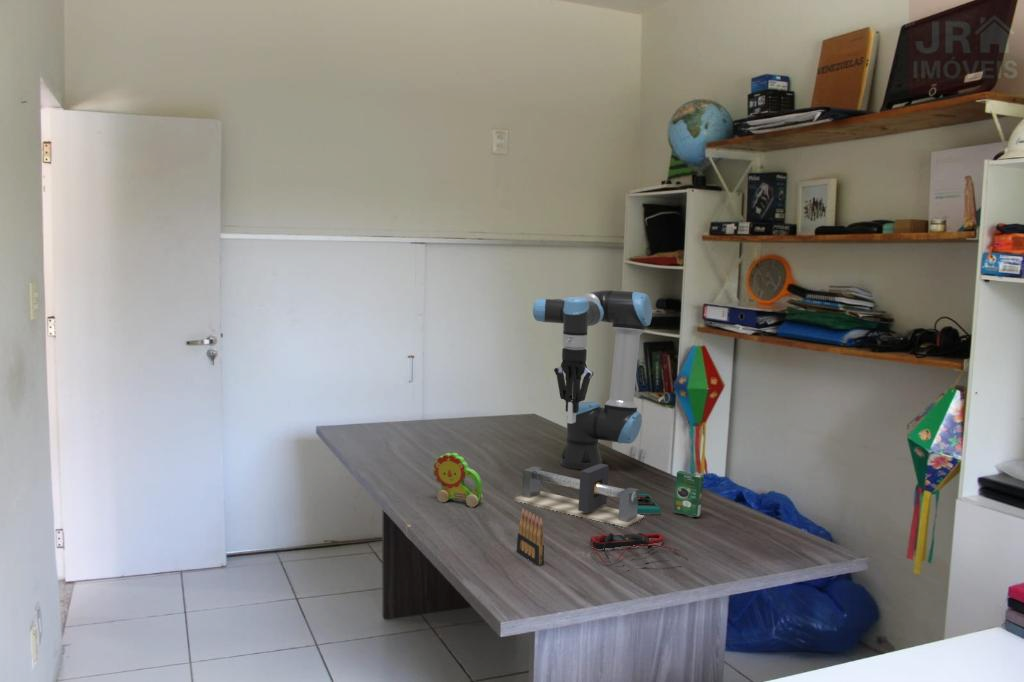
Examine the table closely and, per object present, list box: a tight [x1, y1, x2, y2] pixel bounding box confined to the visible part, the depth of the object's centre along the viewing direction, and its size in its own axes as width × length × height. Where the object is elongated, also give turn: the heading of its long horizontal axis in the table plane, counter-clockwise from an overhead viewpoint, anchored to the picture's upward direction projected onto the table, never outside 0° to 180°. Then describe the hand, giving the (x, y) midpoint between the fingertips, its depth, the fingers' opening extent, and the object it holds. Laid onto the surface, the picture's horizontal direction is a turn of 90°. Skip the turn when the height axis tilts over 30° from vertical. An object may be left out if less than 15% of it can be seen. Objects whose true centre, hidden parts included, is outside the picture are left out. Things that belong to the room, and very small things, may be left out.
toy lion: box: [432, 452, 484, 508], centre depth 260 cm, size 16×5×15 cm, turn 68°
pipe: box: [521, 466, 640, 522], centre depth 258 cm, size 37×6×9 cm, turn 55°
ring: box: [578, 463, 610, 512], centre depth 255 cm, size 3×12×12 cm, turn 145°
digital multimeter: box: [637, 493, 661, 514], centre depth 264 cm, size 7×15×3 cm, turn 5°
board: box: [513, 490, 645, 527], centre depth 259 cm, size 39×12×1 cm, turn 55°
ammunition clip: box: [516, 507, 545, 566], centre depth 217 cm, size 11×2×12 cm, turn 30°
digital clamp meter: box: [589, 532, 681, 564], centre depth 222 cm, size 23×4×25 cm
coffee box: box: [673, 470, 705, 516], centre depth 257 cm, size 8×3×13 cm, turn 54°
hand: (571, 422), depth 265 cm, fingers closed
